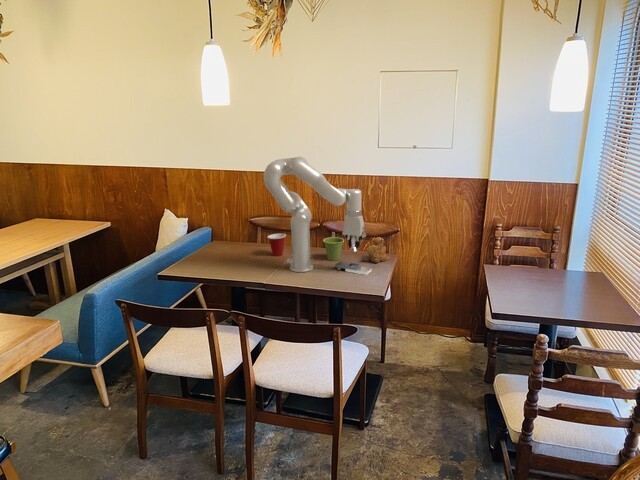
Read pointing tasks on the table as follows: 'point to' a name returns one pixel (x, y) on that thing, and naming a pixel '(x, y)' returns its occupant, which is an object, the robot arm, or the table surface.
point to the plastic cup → (277, 243)
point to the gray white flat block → (353, 267)
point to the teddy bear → (377, 251)
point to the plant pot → (333, 247)
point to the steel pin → (353, 243)
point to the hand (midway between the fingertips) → (354, 247)
